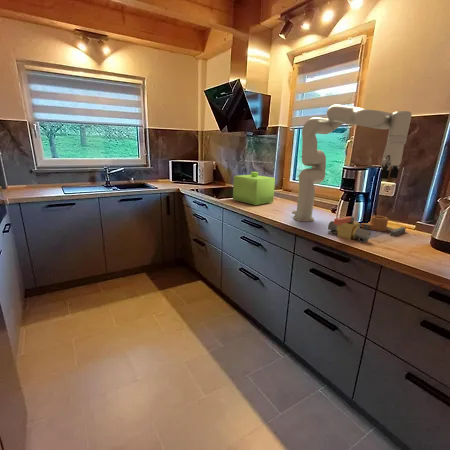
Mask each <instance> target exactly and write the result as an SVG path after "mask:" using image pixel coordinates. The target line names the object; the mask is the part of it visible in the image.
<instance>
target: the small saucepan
mask: <svg viewBox="0 0 450 450" xmlns="http://www.w3.org/2000/svg"><path fill="white" fill-rule="evenodd" d="M388 223H389V217H386V216H383V215H372V216H371V219H370V221H369V222H368V223H361V226H360V227H361V229H364V225H365V224H366V225H369V229H368V230H370V231H371V230H373V231H377V232H385V231H387V227H388Z"/></svg>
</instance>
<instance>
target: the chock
mask: <svg viewBox="0 0 450 450" xmlns="http://www.w3.org/2000/svg"><path fill="white" fill-rule="evenodd" d="M406 229H407V228H406V227H404V226H401V227H397V228H395V229H392V230H390V233H389V234H390V235H389V236H391V237H396V236H399V235H402V234H404V233H405V232H406Z"/></svg>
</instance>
